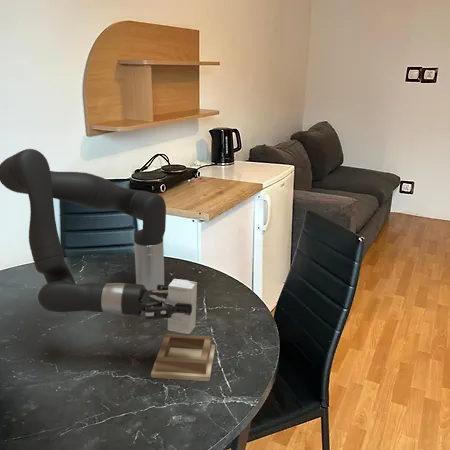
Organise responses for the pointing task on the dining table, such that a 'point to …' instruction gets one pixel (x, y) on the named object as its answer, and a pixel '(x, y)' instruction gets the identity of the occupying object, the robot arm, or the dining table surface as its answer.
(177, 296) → the skincare box
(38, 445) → the dining table surface
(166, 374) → the socket board
